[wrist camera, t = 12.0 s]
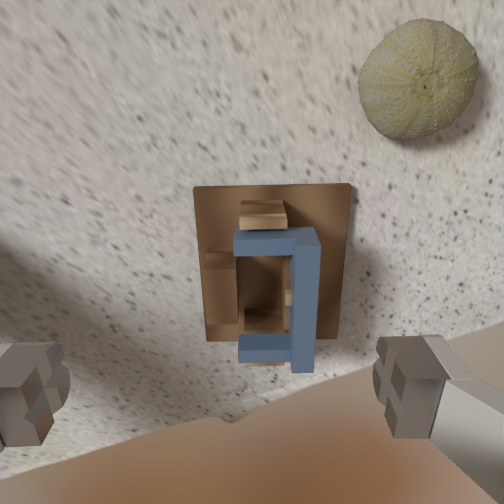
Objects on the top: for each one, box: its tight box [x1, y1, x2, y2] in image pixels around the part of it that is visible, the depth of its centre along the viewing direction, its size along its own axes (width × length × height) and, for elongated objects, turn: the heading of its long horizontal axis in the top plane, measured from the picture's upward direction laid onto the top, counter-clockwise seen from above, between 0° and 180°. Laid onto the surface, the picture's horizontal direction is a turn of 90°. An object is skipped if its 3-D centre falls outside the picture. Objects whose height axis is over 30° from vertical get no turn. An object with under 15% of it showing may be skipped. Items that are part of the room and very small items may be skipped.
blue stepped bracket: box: [233, 227, 321, 373], centre depth 34 cm, size 7×13×4 cm, turn 1°
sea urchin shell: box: [358, 18, 478, 140], centre depth 31 cm, size 9×8×8 cm
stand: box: [193, 183, 351, 366], centre depth 38 cm, size 15×18×7 cm
